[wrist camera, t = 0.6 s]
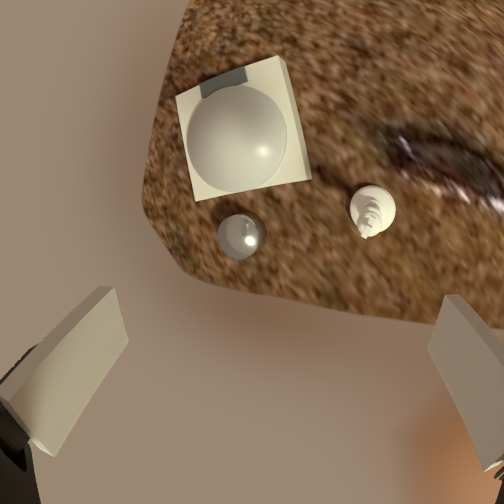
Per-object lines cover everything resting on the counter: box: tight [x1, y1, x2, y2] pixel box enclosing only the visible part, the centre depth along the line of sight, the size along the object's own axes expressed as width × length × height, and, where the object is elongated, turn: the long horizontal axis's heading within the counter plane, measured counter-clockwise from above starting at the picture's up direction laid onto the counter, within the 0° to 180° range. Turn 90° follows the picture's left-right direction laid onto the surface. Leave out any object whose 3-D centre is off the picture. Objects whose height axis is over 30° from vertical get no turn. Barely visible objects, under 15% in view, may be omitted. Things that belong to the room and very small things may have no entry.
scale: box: [176, 56, 312, 201], centre depth 30 cm, size 14×14×3 cm
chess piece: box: [350, 186, 396, 239], centre depth 23 cm, size 5×5×10 cm
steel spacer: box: [218, 212, 267, 259], centre depth 34 cm, size 5×5×3 cm
